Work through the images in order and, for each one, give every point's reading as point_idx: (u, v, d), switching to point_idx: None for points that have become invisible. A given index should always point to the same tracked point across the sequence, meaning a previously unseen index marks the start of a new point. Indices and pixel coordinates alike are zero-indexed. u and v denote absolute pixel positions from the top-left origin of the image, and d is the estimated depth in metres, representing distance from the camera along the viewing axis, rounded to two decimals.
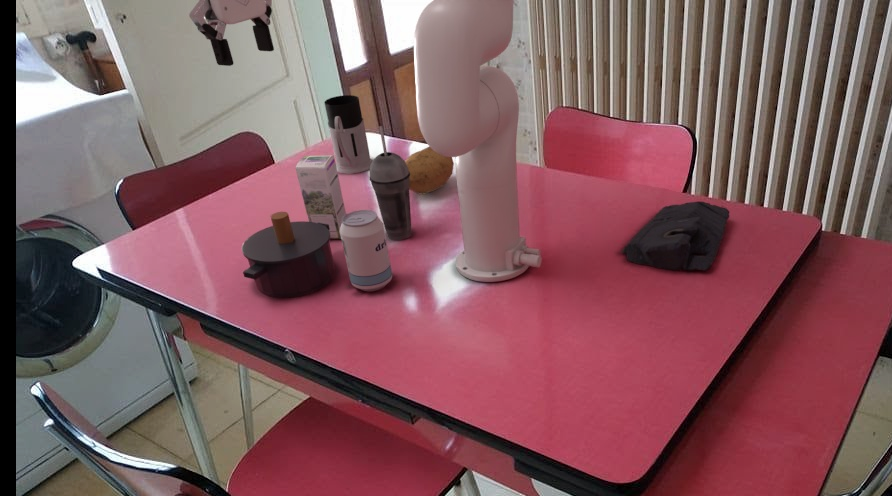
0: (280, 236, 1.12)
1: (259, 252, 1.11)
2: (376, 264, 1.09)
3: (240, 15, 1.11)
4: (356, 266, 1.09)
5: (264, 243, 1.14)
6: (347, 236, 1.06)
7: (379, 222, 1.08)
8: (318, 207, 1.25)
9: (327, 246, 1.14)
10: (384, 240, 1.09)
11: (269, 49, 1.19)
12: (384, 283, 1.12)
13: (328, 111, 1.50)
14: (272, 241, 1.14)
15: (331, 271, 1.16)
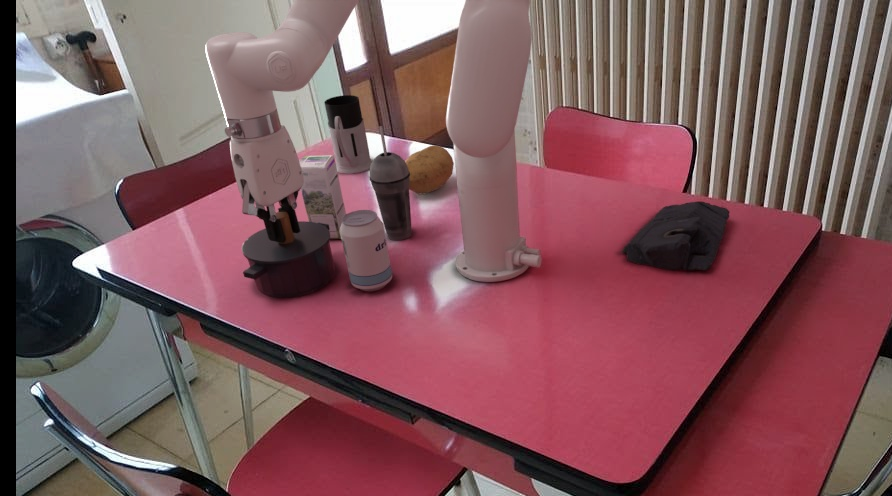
0: None
1: (259, 252, 1.11)
2: (376, 264, 1.09)
3: (278, 195, 1.07)
4: (356, 266, 1.09)
5: (264, 243, 1.14)
6: (347, 236, 1.06)
7: (379, 222, 1.08)
8: (318, 207, 1.25)
9: (327, 246, 1.14)
10: (384, 240, 1.09)
11: (295, 231, 1.14)
12: (384, 283, 1.12)
13: (328, 111, 1.50)
14: (272, 241, 1.14)
15: (331, 271, 1.16)
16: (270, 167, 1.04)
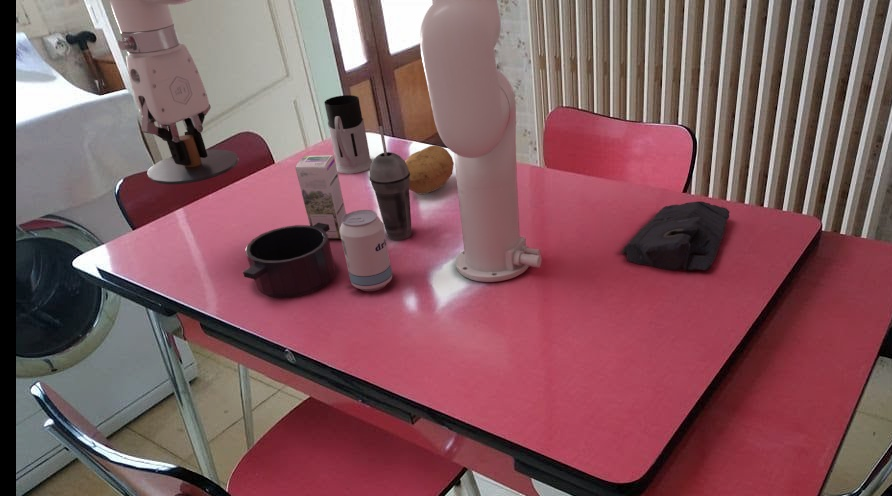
0: None
1: (164, 175, 1.11)
2: (375, 264, 1.09)
3: (179, 114, 1.07)
4: (356, 266, 1.09)
5: (170, 167, 1.14)
6: (347, 236, 1.06)
7: (379, 222, 1.08)
8: (318, 207, 1.25)
9: (327, 246, 1.14)
10: (384, 240, 1.09)
11: (202, 156, 1.14)
12: (384, 283, 1.12)
13: (328, 111, 1.50)
14: (179, 165, 1.14)
15: (331, 271, 1.16)
16: (168, 84, 1.04)
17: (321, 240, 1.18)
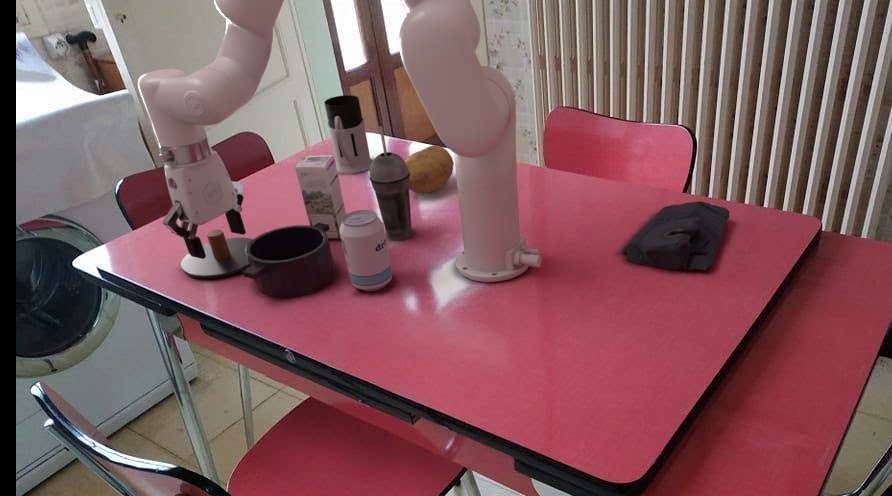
0: (216, 252, 1.23)
1: (196, 267, 1.22)
2: (376, 264, 1.09)
3: (211, 214, 1.17)
4: (356, 266, 1.09)
5: None
6: (347, 236, 1.06)
7: (379, 222, 1.08)
8: (318, 207, 1.25)
9: (327, 246, 1.14)
10: (384, 240, 1.09)
11: (241, 233, 1.26)
12: (384, 283, 1.12)
13: (328, 111, 1.50)
14: (209, 256, 1.25)
15: (331, 271, 1.16)
16: (202, 189, 1.14)
17: (321, 240, 1.18)
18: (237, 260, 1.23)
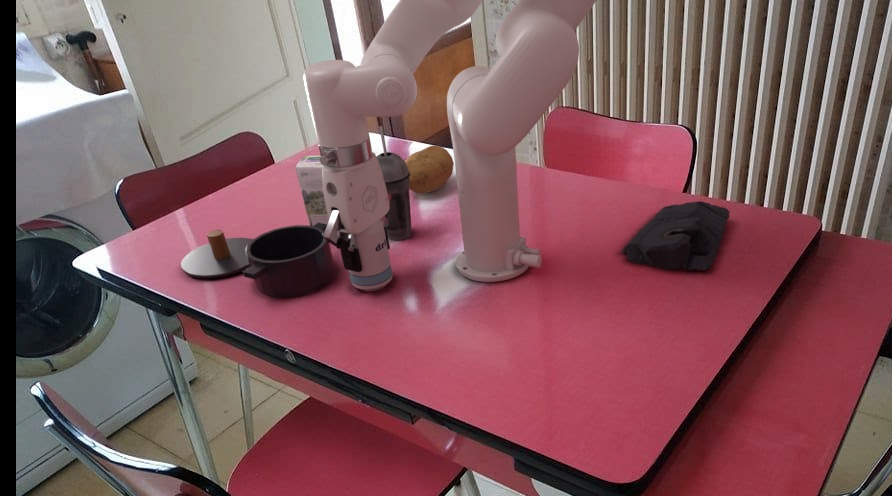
0: (216, 252, 1.23)
1: (196, 267, 1.22)
2: (376, 264, 1.09)
3: (367, 222, 1.05)
4: None
5: (202, 258, 1.24)
6: (347, 236, 1.06)
7: (379, 222, 1.08)
8: (318, 207, 1.25)
9: (327, 246, 1.14)
10: (384, 240, 1.09)
11: None
12: (384, 283, 1.12)
13: None
14: (209, 256, 1.25)
15: (331, 271, 1.16)
16: (361, 195, 1.03)
17: (321, 240, 1.18)
18: (237, 260, 1.23)
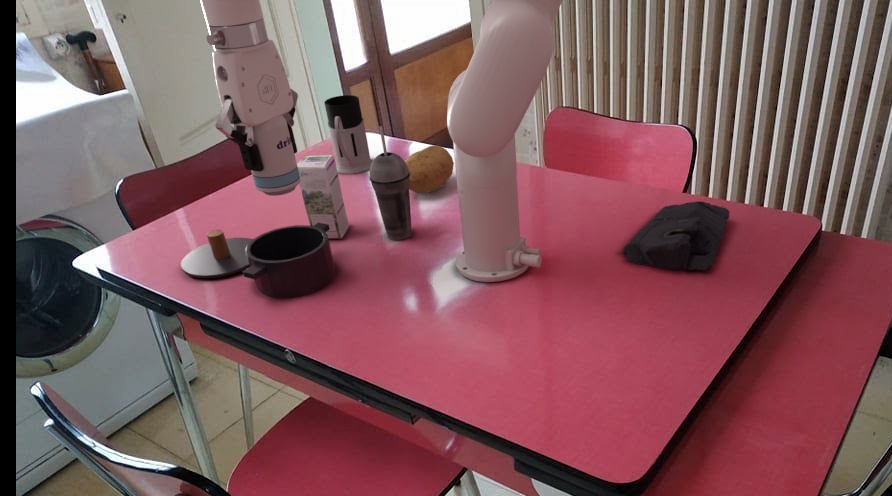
0: (216, 252, 1.23)
1: (196, 267, 1.22)
2: (278, 164, 1.03)
3: (266, 115, 0.99)
4: None
5: (202, 258, 1.24)
6: None
7: (281, 118, 1.02)
8: (318, 207, 1.25)
9: (327, 246, 1.14)
10: (287, 138, 1.03)
11: None
12: (290, 186, 1.06)
13: (328, 111, 1.50)
14: (209, 256, 1.25)
15: (331, 271, 1.16)
16: (256, 83, 0.96)
17: (321, 240, 1.18)
18: (237, 260, 1.23)
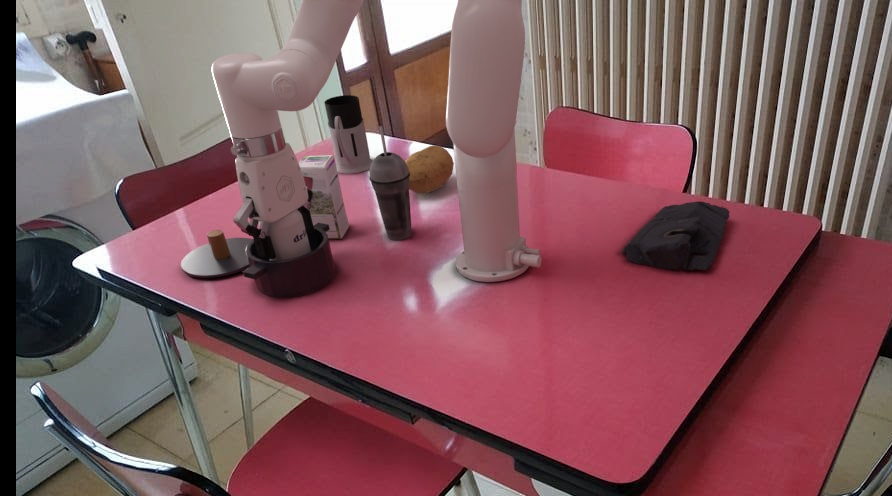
0: (216, 252, 1.23)
1: (196, 267, 1.22)
2: (295, 255, 1.13)
3: (283, 212, 1.08)
4: (276, 257, 1.12)
5: (202, 258, 1.24)
6: None
7: (297, 214, 1.11)
8: (318, 207, 1.25)
9: (327, 246, 1.14)
10: (303, 231, 1.13)
11: (310, 232, 1.17)
12: None
13: (328, 111, 1.50)
14: (209, 256, 1.25)
15: (331, 271, 1.16)
16: (275, 184, 1.05)
17: (321, 240, 1.18)
18: (237, 260, 1.23)
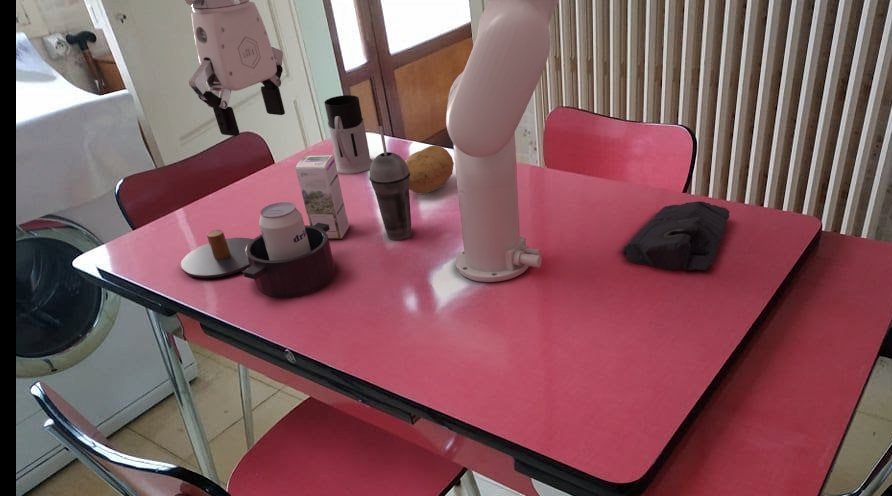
0: (216, 252, 1.23)
1: (196, 267, 1.22)
2: (295, 255, 1.13)
3: (247, 80, 0.96)
4: (276, 257, 1.12)
5: (202, 258, 1.24)
6: (265, 227, 1.10)
7: (297, 214, 1.11)
8: (318, 207, 1.25)
9: (327, 246, 1.14)
10: (303, 231, 1.13)
11: (279, 113, 1.05)
12: None
13: (328, 111, 1.50)
14: (209, 256, 1.25)
15: (331, 271, 1.16)
16: (237, 45, 0.94)
17: (321, 240, 1.18)
18: (237, 260, 1.23)
